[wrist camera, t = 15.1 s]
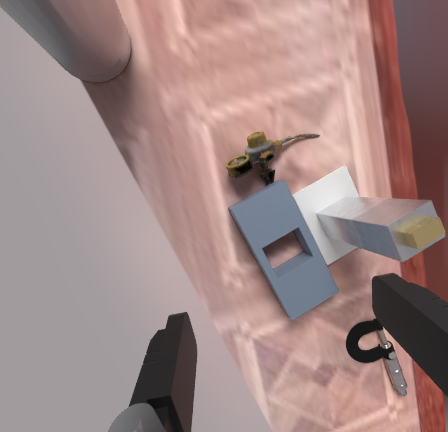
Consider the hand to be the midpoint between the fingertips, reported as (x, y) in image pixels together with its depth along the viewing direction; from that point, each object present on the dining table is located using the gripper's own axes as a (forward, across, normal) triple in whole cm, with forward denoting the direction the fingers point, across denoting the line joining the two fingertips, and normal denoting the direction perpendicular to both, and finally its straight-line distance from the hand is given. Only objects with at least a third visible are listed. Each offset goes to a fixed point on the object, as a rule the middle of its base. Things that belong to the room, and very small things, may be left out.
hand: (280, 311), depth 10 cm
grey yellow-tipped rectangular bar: (+25, -14, +6) cm, 29 cm away
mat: (+25, -14, +6) cm, 30 cm away
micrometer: (+22, -17, +32) cm, 42 cm away
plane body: (+24, -5, +9) cm, 26 cm away
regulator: (+27, -6, -5) cm, 28 cm away
